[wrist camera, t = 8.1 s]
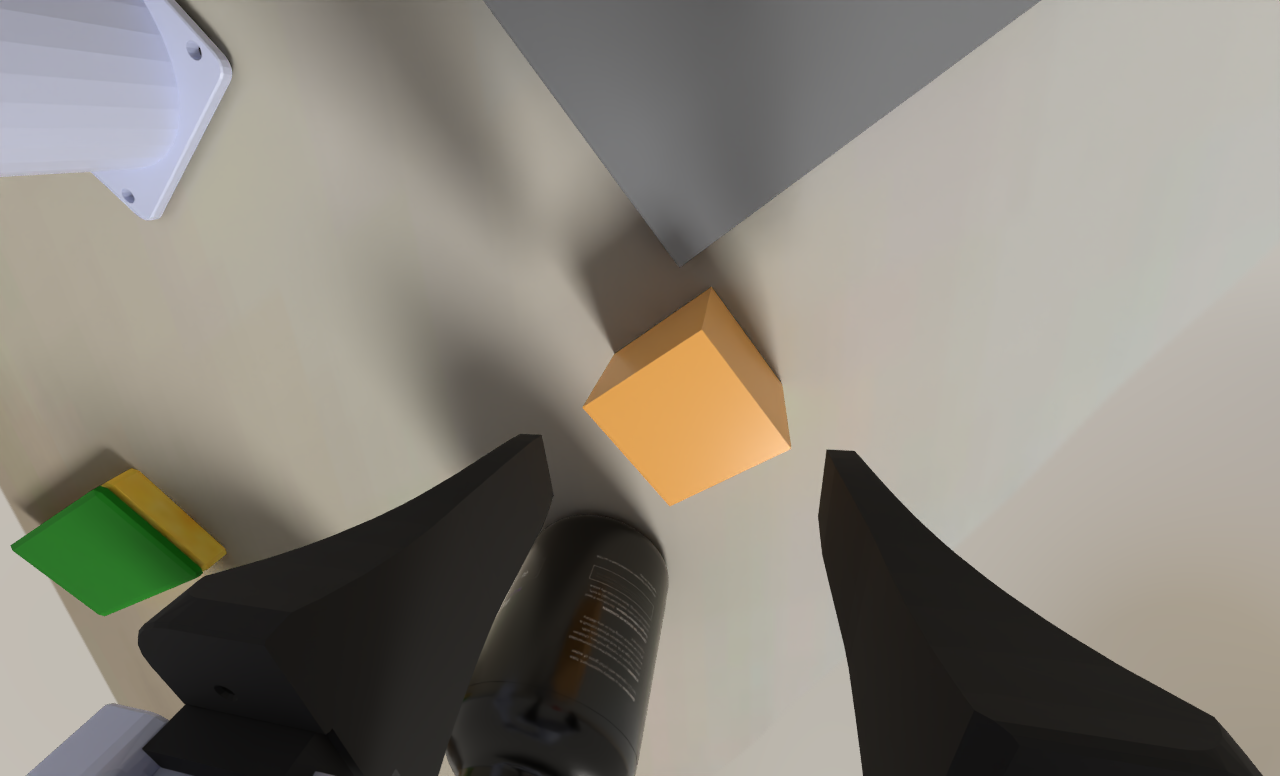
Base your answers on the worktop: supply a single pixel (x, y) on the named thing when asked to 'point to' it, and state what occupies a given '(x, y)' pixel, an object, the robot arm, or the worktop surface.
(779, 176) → the panel
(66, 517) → the dish sponge
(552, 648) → the supplement bottle
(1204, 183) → the worktop surface
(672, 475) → the orange wooden cube
